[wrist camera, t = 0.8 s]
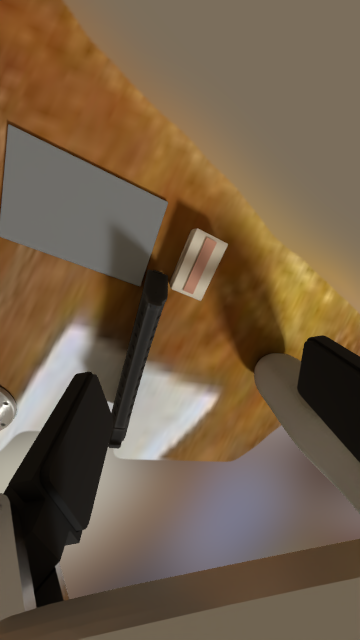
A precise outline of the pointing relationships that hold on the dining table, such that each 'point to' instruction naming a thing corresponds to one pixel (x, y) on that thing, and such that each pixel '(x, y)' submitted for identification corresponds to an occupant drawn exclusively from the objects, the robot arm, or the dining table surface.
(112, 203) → the mat
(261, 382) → the glass bottle
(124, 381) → the magazine
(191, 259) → the card box
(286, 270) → the dining table surface
